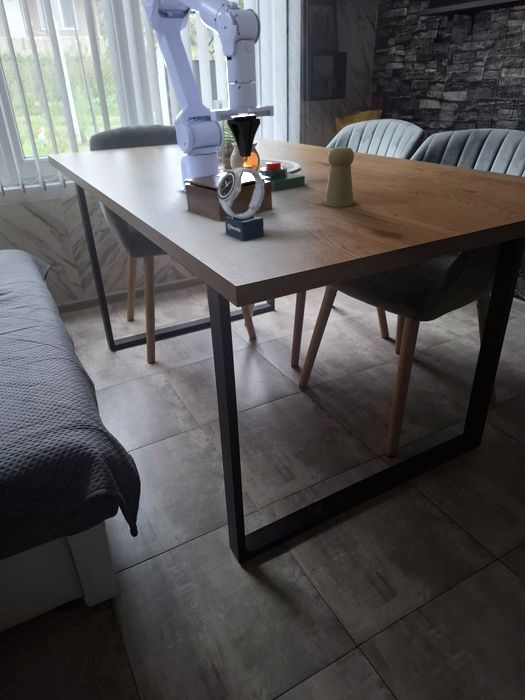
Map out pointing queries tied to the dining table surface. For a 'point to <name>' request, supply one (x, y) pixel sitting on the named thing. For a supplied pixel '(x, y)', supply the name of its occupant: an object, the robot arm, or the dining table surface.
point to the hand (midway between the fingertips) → (245, 156)
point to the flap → (245, 177)
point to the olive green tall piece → (340, 177)
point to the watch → (246, 222)
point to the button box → (282, 178)
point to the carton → (207, 202)
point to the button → (273, 165)
